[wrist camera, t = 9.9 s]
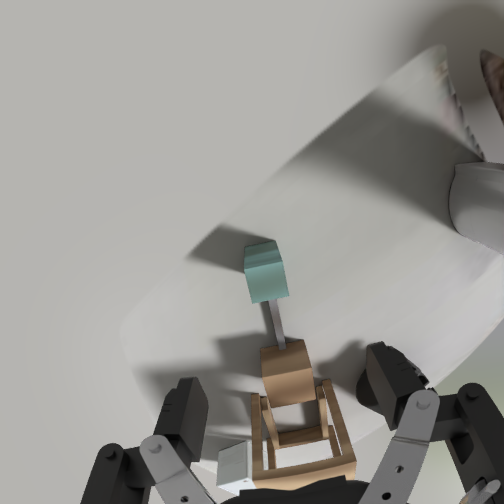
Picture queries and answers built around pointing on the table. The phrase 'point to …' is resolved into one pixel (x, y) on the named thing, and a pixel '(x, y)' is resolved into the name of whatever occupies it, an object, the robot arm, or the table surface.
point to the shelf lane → (306, 472)
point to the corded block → (277, 330)
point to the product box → (237, 468)
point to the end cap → (367, 394)
